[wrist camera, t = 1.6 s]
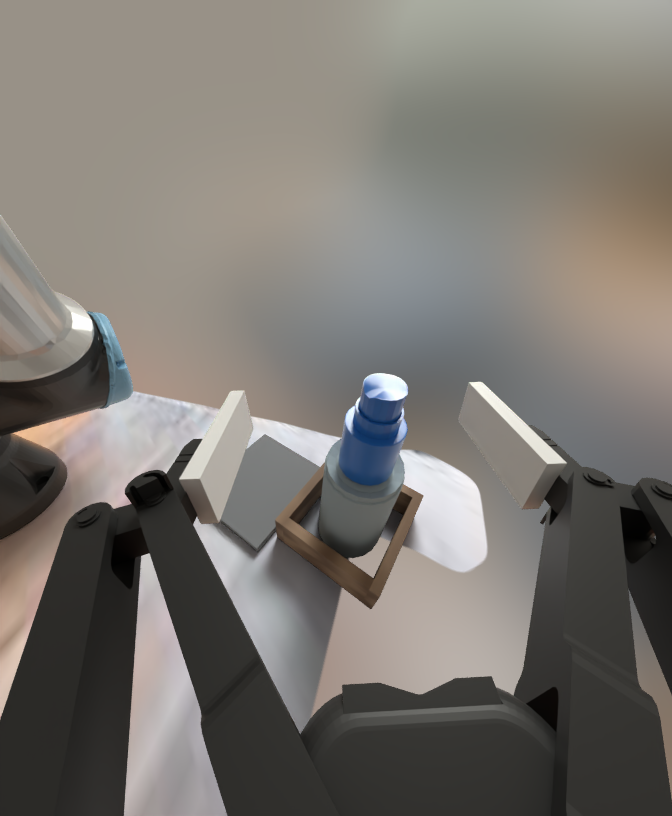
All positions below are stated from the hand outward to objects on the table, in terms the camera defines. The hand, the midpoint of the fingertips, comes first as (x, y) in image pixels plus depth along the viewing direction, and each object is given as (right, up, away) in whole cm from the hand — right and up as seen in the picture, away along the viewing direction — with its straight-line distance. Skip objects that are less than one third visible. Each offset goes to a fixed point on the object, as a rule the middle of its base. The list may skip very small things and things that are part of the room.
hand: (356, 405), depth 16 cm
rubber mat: (-13, -12, +26) cm, 31 cm away
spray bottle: (+1, -17, +23) cm, 28 cm away
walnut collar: (+1, -17, +23) cm, 28 cm away
